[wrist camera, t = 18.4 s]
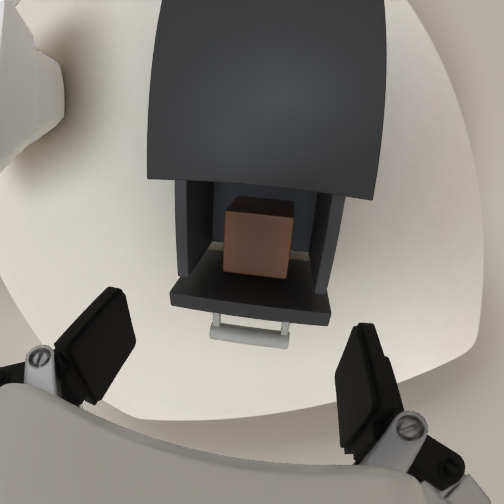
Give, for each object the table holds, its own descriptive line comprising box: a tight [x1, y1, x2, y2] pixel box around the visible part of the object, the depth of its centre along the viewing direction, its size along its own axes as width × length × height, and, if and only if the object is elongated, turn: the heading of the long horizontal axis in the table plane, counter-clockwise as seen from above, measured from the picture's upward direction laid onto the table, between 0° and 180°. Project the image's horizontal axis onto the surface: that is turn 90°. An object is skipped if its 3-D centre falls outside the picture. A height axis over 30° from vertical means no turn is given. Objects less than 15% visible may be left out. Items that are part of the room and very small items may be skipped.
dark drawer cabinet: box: [147, 0, 386, 200], centre depth 15 cm, size 15×13×10 cm
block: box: [223, 196, 295, 279], centre depth 21 cm, size 5×5×5 cm
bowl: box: [0, 0, 65, 173], centre depth 15 cm, size 19×19×14 cm
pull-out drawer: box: [170, 180, 345, 349], centre depth 20 cm, size 19×11×8 cm, turn 176°
